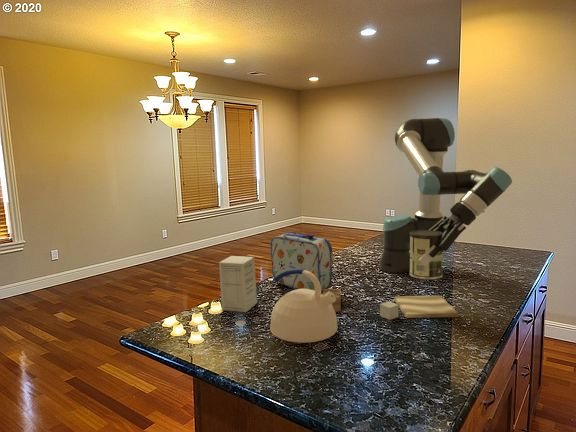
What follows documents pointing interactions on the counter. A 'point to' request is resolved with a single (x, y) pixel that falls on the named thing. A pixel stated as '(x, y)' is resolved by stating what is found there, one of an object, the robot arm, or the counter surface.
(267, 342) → the counter surface
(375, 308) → the counter surface
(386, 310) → the beige tilted cube
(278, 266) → the lunch box
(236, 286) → the supplement box
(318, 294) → the kettle
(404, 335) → the counter surface
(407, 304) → the maple board
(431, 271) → the coffee can
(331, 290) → the oak block
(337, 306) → the walnut block
